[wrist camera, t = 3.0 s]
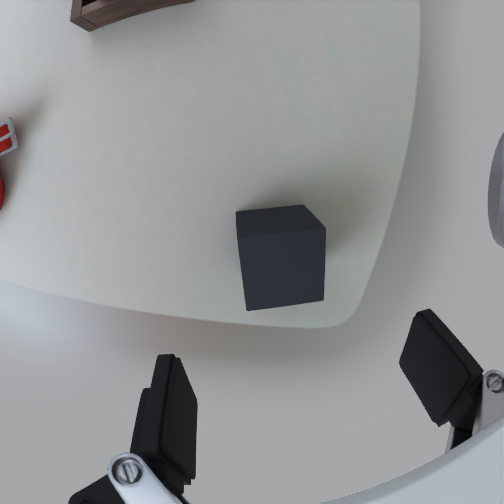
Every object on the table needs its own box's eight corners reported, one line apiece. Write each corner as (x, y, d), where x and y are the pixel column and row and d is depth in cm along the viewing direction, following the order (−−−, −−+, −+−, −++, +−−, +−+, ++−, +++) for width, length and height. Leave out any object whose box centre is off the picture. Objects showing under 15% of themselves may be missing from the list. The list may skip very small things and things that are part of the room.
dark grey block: (304, 204, 20) (326, 227, 15) (305, 265, 22) (323, 300, 17) (235, 211, 19) (237, 237, 15) (243, 273, 22) (246, 311, 17)
